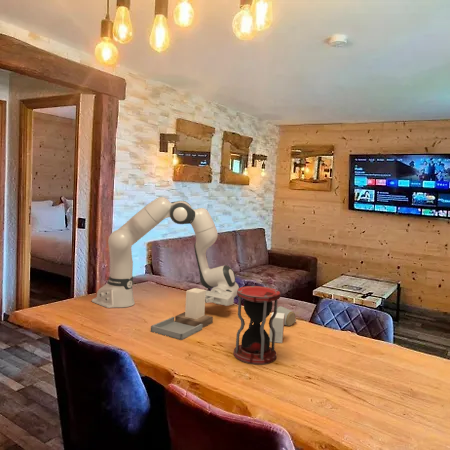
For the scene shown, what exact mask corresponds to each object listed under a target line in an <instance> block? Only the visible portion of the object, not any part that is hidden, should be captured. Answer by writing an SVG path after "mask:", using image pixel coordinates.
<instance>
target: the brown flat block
mask: <svg viewBox="0 0 450 450" xmlns="http://www.w3.org/2000/svg"><path fill="white" fill-rule="evenodd" d="M174 322H178V323H182V324H186V325H190V326H194V327H195V326H197V325H199V324H203V325H202V329H204V328H205V327H208V326H210V325H212V324H213V323H214V316H212V315H208V314H204V316H202V317H200V318H198V319H193V318H188V317H185V311H183V312H182V313H180V314H177V315H175V316H174Z"/></svg>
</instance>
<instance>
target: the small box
mask: <svg viewBox="0 0 450 450" xmlns="http://www.w3.org/2000/svg"><path fill="white" fill-rule="evenodd" d="M273 313H274V311H271V315H270V318H271V317H272V316H273ZM270 318H269V319H270ZM284 319H285V313H277V314H276V316H275V318H274V319H273V322H272V326H273V328H274V329H275V343H278V344H283V340H284V330H285V325H284ZM268 336H269V338H270V343H272V330H271V328H270V327H269V333H268Z"/></svg>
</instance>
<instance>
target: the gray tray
mask: <svg viewBox="0 0 450 450" xmlns="http://www.w3.org/2000/svg"><path fill="white" fill-rule="evenodd" d="M202 325H203V324H199V325H197V326H195V327H194V326H190V325H186V324H182V323H178V322H175V316H172V317H169V318H167V319H164V320H162V321H160V322H157V323H155V324H151V326H150V332H151V333H154V332H155V333H154V334H157V333H158V334H157V335H161V334H162V335H161V336H165V335H166V336H165V337H168V336H169V337H168V338H173V339H175V338H176V340H180V341H183V340H185V339H186V338H189V337H190V336H193V335H195V334H196V333H198V332H199V333H200V331H203V328H202Z"/></svg>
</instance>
